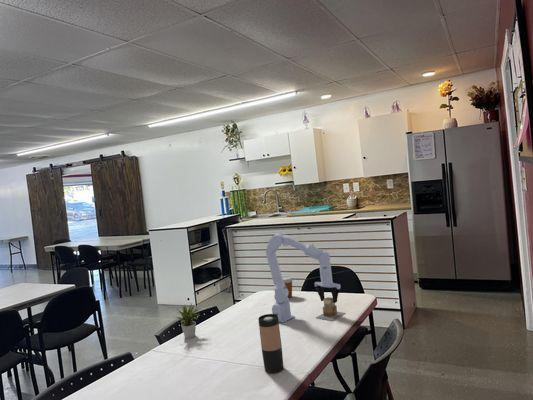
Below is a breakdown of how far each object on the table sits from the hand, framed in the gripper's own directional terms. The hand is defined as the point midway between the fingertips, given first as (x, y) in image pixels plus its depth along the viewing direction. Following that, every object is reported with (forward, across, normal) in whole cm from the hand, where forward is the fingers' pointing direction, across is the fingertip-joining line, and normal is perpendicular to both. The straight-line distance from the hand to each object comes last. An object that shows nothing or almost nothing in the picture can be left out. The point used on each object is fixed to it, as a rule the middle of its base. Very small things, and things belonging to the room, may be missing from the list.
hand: (329, 301), depth 200 cm
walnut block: (+7, 0, 0) cm, 7 cm away
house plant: (+8, +46, +54) cm, 71 cm away
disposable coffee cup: (+8, +44, -17) cm, 48 cm away
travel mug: (+8, -14, +58) cm, 60 cm away
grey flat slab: (+7, 0, 0) cm, 7 cm away
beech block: (+2, 0, 0) cm, 3 cm away
